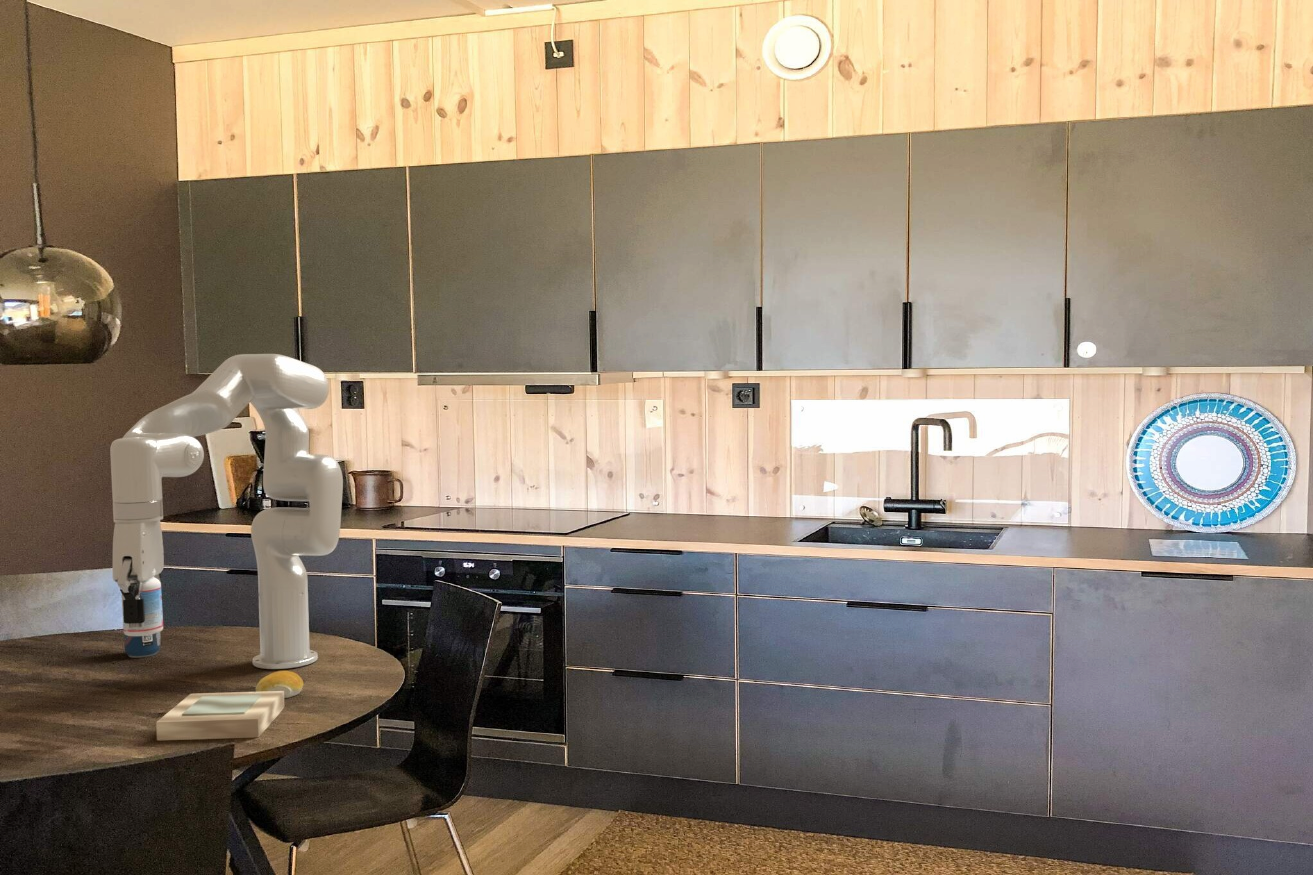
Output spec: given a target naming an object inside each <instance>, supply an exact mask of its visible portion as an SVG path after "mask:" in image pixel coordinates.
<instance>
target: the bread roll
mask: <svg viewBox="0 0 1313 875" xmlns="http://www.w3.org/2000/svg"><path fill="white" fill-rule="evenodd" d="M303 687H304V681H303V678H302V677H301V676H300V675H299V674H298V673H297V672H294V671H291V670H278V671H274V672H272V673H269V674H268V675H266V676H264V677H263V678H261V679H260V680H259V681H258V683H257V684H256V686H255V692H264V691H284V699H289V698H292V697H295V696H297V695H299V694H300V693H301V691H302V689H303Z"/></svg>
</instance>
